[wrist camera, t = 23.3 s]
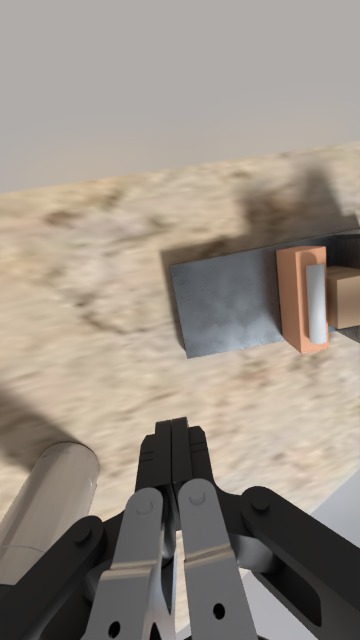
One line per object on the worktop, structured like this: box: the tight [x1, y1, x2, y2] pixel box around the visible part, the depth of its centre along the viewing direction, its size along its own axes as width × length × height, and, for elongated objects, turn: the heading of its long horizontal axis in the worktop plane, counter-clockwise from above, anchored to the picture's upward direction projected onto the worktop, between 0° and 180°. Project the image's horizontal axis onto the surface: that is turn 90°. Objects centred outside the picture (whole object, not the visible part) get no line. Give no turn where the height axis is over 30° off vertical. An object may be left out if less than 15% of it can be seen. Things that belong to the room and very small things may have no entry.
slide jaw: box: [276, 246, 328, 354], centre depth 29 cm, size 11×3×6 cm, turn 11°
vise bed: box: [169, 228, 360, 359], centre depth 31 cm, size 12×24×8 cm, turn 101°
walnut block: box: [326, 266, 360, 329], centre depth 29 cm, size 5×4×7 cm
